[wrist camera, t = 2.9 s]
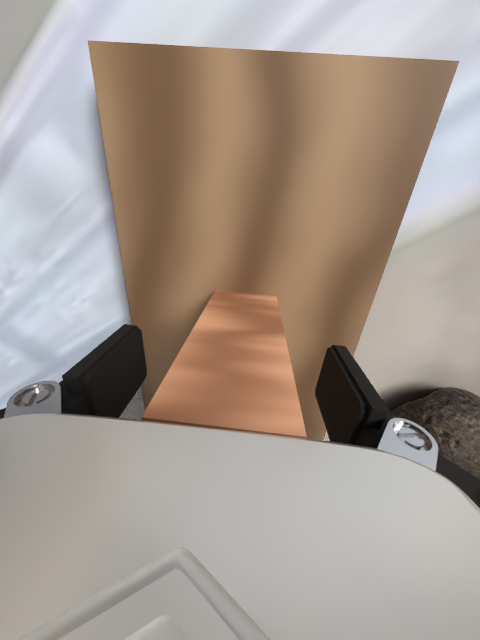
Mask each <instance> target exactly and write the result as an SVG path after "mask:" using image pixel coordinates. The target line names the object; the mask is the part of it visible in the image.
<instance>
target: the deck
mask: <svg viewBox="0 0 480 640" xmlns="http://www.w3.org/2000/svg"><path fill="white" fill-rule="evenodd" d="M88 45H89V52H90V58H91V65H92V71H93V78H94V84H95V91H96V97H97V103H98V110H99V116H100V123H101V129H102V136H103V142H104V149H105V155H106V161H107V168H108V174H109V181H110V187H111V194H112V200H113V207H114V213H115V219H116V226H117V232H118V239H119V245H120V252H121V258H122V265H123V271H124V277H125V284H126V290H127V297H128V303H129V310H130V316H131V322H132V325H136V326H138V328H139V329H141V331H142V337H143V345H144V352H145V360H146V367H147V376H146V378H145V380H144V381H143V383H142V384H141V387H142V393H143V400H144V406H145V410H146V409H147V407H148V405H149V403H150V402H151V400H152V398H153V396H154V395H155V393H156V391H157V390H158V388H159V386H160V384H161V383H162V381H163V379H164V378H165V376H166V374H167V372H168V371H169V369H170V367H171V365H172V364H173V362H174V360H175V359H176V357H177V355H178V353H179V352H180V350H181V348H182V346H183V345H184V343H185V341H186V340H187V338H188V336H189V334H190V333H191V331H192V329H193V328H194V326H195V324H196V322H197V321H198V319H199V317H200V315H201V314H202V312H203V310H204V309H205V307H206V305H207V303H208V302H209V300H210V298H211V297H212V295H213V293H214V291H215V290H217V291H227V292H238V293H248V294H258V295H268V296H277V300H278V305H279V310H280V314H281V319H282V324H283V328H284V333H285V338H286V342H287V347H288V351H289V356H290V361H291V365H292V370H293V375H294V379H295V384H296V389H297V393H298V398H299V403H300V407H301V412H302V416H303V421H304V426H305V430H306V435H307V438H306V439H313V440H321V441H323V439H324V436H325V433H326V427H325V424H324V421H323V418H322V415H321V412H320V409H319V405H318V402H317V399H316V396H315V388H316V385H317V382H318V378H319V375H320V371H321V368H322V364H323V361H324V357H325V354H326V351H327V348H328V347H331V346H332V345H340V346H345V347H346V348H347V349H348V351H349V352H350V353H351V355H352V356H353V355H354V352H355V350H356V347H357V344H358V341H359V339H360V336H361V333H362V330H363V327H364V325H365V322H366V319H367V316H368V313H369V311H370V308H371V305H372V302H373V300H374V297H375V294H376V291H377V288H378V286H379V283H380V280H381V277H382V275H383V272H384V269H385V266H386V263H387V261H388V258H389V255H390V252H391V250H392V247H393V244H394V241H395V238H396V236H397V233H398V230H399V227H400V225H401V222H402V219H403V216H404V213H405V211H406V208H407V205H408V202H409V200H410V197H411V194H412V191H413V188H414V186H415V183H416V180H417V177H418V174H419V172H420V169H421V166H422V163H423V161H424V158H425V155H426V152H427V149H428V147H429V144H430V141H431V138H432V136H433V133H434V130H435V127H436V124H437V122H438V119H439V116H440V113H441V111H442V108H443V105H444V102H445V99H446V97H447V94H448V91H449V88H450V86H451V83H452V80H453V77H454V74H455V72H456V69H457V66H458V63H459V61H446V60H428V59H410V58H392V57H374V56H356V55H338V54H320V53H302V52H284V51H266V50H248V49H229V48H211V47H193V46H175V45H157V44H139V43H121V42H103V41H88Z"/></svg>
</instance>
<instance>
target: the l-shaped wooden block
mask: <svg viewBox="0 0 480 640" xmlns="http://www.w3.org/2000/svg"><path fill="white" fill-rule="evenodd" d="M142 421H152V422H162V423H171V424H181V425H190V426H199V427H208V428H217V429H226V430H235V431H244V432H253V433H262V434H271V435H279V436H288V437H296V438H305V439H306V438H307V435H306V430H305V426H304V421H303V416H302V412H301V407H300V403H299V398H298V393H297V389H296V384H295V379H294V375H293V370H292V365H291V361H290V356H289V351H288V347H287V342H286V338H285V333H284V328H283V324H282V319H281V314H280V310H279V305H278V300H277V296H268V295H258V294H248V293H238V292H227V291H217V290H215V291H214V293H213V295H212V297H211V298H210V300H209V302H208V303H207V305H206V307H205V309H204V310H203V312H202V314H201V315H200V317H199V319H198V321H197V322H196V324H195V326H194V328H193V329H192V331H191V333H190V334H189V336H188V338H187V340H186V341H185V343H184V345H183V346H182V348H181V350H180V352H179V353H178V355H177V357H176V359H175V360H174V362H173V364H172V365H171V367H170V369H169V371H168V372H167V374H166V376H165V378H164V379H163V381H162V383H161V384H160V386H159V388H158V390H157V391H156V393H155V395H154V396H153V398H152V400H151V402H150V403H149V405H148V407H147V409H146V410H145V412H144V414H143V415H142Z"/></svg>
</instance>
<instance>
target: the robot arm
mask: <svg viewBox="0 0 480 640" xmlns="http://www.w3.org/2000/svg"><path fill="white" fill-rule="evenodd" d="M146 376H147V367H146V360H145V352H144V345H143V337H142V331H141V329H139V328H138V326H136V325H126V324H125V325H123V326H122V327H120V328H119V329H118V330H117V331H116V332H114V333H113V334H112V335H111V336H110V337H108V338H107V339H106V340H105V341H104V342H102V343H101V344H100V345H99V346H98V347H96V348H95V349H94V350H93V351H92V352H90V353H89V354H88V355H87V356H86V357H84V358H83V359H82V360H81V361H80V362H78V363H77V364H76V365H75V366H73V367H72V368H71V369H70V370H69V371H67V372H66V373H65V374H64V375H63V376H62V378H63V380H62V381H61V382H60V383H57V382H54V381H42V382H38V383H34V384H31V385H28V386H26V387H24V388H22V389H20V390H19V391H17V392H16V393H14V394H13V395H12V396H11V397H10V399H9V400H8V402H7V406H6V408H4V409H1V410H0V640H480V479H478V478H477V477H475V476H473V475H472V474H470V473H468V472H467V471H465V470H464V469H462V468H460V467H459V466H457V465H456V464H454V463H452V462H451V461H449V460H447V459H446V458H444V457H443V456H441V455H439V454H438V445H437V443H436V441H435V439H434V438H433V437H432V436H431V435H430V433H429V432H427V431H426V430H425V429H424V428H422V427H421V426H419V425H418V424H416V423H414V422H412V421H409V420H407V419H403V418H393V416H392V415H391V413H390V412H389V409H388V408H387V406H386V405H385V403H384V402H383V400H382V399H381V397H380V396H379V395H378V393H377V392H376V390H375V389H374V387H373V386H372V384H371V383H370V381H369V380H368V378H367V377H366V375H365V374H364V373H363V371H362V370H361V368H360V367H359V365H358V364H357V362H356V361H355V359H354V358H353V356H352V355H351V353H350V352H349V351H348V349H347V348H346V347H345V346H340V345H332V346H331V347H328V348H327V351H326V354H325V357H324V361H323V364H322V368H321V371H320V375H319V378H318V382H317V385H316V388H315V396H316V399H317V402H318V405H319V409H320V412H321V415H322V418H323V421H324V424H325V427H326V430H327V433H328V436H329V439H330V442H329V441H321V440H313V439H305V438H296V437H288V436H279V435H271V434H262V433H253V432H244V431H235V430H226V429H217V428H208V427H199V426H190V425H181V424H171V423H162V422H152V421H142V420H133V419H123V418H119V417H120V415H121V414H122V412H123V411H124V409H125V408H126V406H127V405H128V403H129V402H130V400H131V399H132V398H133V396H134V395H135V393H136V392H137V390H138V389H139V387H140V386H141V384H142V383H143V381H144V380H145V378H146Z"/></svg>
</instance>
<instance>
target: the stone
mask: <svg viewBox="0 0 480 640" xmlns="http://www.w3.org/2000/svg"><path fill="white" fill-rule="evenodd" d="M390 413H391V415H392V416H393V418H403V419H407V420H409V421H412V422H414V423H416V424H418V425H419V426H421V427H422V428H424V429H425V430H426V431H427V432H429V433H430V435H431V436H432V437H433V438H434V439H435V441H436V443H437V445H438V454H439V455H441V456H443V457H444V458H446V459H447V460H449V461H451V462H452V463H454V464H456V465H457V466H459V467H460V468H462V469H464V470H465V471H467V472H468V473H470V474H472V475H473V476H475V477H477V478H478V479H480V397H478V396H476V395H474V394H473V393H471V392H468V391H466V390H463V389H458V388H449V387H448V388H441V389H439V390H437V391H434V392H432V393H431V394H429V395H428V396H426V397H423V398H420V399H418V400H415V401H412V402H407V403H405V404H403V405H401V406H399V407H398V408H396V409H394V410H392V411H391V412H390Z"/></svg>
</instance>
